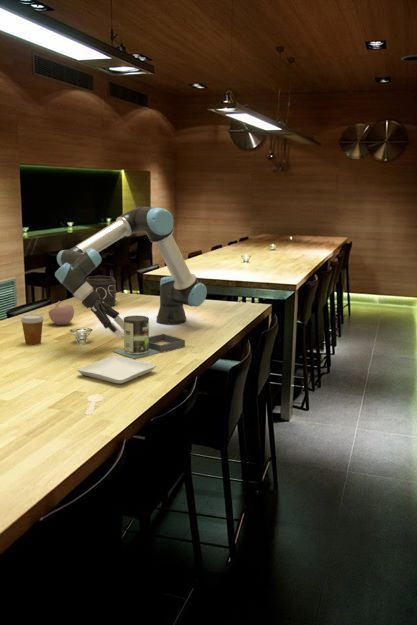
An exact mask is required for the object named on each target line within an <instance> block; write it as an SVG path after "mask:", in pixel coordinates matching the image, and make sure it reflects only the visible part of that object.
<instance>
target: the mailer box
mask: <svg viewBox="0 0 417 625" xmlns="http://www.w3.org/2000/svg"><path fill="white" fill-rule="evenodd" d="M159 342H165V343H164V344H159ZM166 342H167V343H166ZM169 342H170V343H169ZM183 346H185V347H186V340H185V339H183V338H179V337H175V336H172V335H169V334H165V333H161V334H157V335H153V336H149V352H147V353H144V354H128V353H125V352H124V348H118V349H116V350H112V353H113V354H114V353H115V354H117V355H121V356H122V357H125V358H129V359H133V360H137V359H139V358H144V357H148V356H152V355H157V354H160V352H161V353H165V352H168V350H169V351H172V349H173V350H176V348H178V349H180V348H179V347H182V348H184V347H183ZM164 351H165V352H164Z"/></svg>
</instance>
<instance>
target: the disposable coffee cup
mask: <svg viewBox="0 0 417 625" xmlns="http://www.w3.org/2000/svg"><path fill="white" fill-rule="evenodd" d="M44 319H45V318H44V316H43V315H42V314H37V313H33V314H31V313H29V314H24V315H22V316H21V318H20V321H21V325H22V331H23V336H24V340H25V345H26V346H38V345H40V344H41V343H42V336H43V335H42V332H43V322H44Z"/></svg>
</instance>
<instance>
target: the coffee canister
mask: <svg viewBox="0 0 417 625" xmlns="http://www.w3.org/2000/svg"><path fill="white" fill-rule="evenodd" d="M84 280H86V282H87V283H88V284H89V285H91V286H92V287H93V289H92V290H95V291H96V292H97V293H98V294H99V295H100V297H99V298H98V300H100V299H102V300H103V301H104V302H105V303H106V304H107V305H109V306H110V307H111V308H113V307H114V306H115V303H116V302H117V300H116V297H117V293H118V290H117V289H116V288H117V286H116V283H117V280H116V279H115V277H113V276H108V275H95V276H93V275H92V276H86V277H85V278H84ZM89 308H90V309H91V308H92V306H90V307H89Z"/></svg>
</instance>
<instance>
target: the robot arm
mask: <svg viewBox="0 0 417 625" xmlns="http://www.w3.org/2000/svg"><path fill="white" fill-rule="evenodd" d="M174 223H175V221H174V218H173V214H172V213H170V211H169V210H167V209H166V208H163V207H162V208H161V207H159V206H158V207H150V206H137V207H135V208H132V209H131V210H128V211H127V212H125V213H123V214H121V215H120V216H118V217H117V218H116V219H115V221H114V222H113V223H111V224H109V225H108V226H106V227H104V228H103V229H101V230H99V231H98V232H96V233H94V234H93V235H91V236H89V237H88V238H87V239H85V240H83V241H81V242H79V243H78V244H76V245H75V246H73V247H71V248H70V249H64V250H63V249H62V250H60V251H59V252H58V254H56V261H57V264H58V265H59V266H60V267H59V268H58V269H57V270H56V271H55V272H54V277H55V278H56V279H57V280H58V281H59V283H60V284H62V285H63V287H65V288H66V289H67V290H68V291H69V292H70V293H71V294H72V295H73V297H74V299H77V300H78V301H79V302H80V301H81V304H82V305H83V306H84V307H85V308H86V309H89V308H90V311H91V312H92V313H93V314H94V315H95V316H96V318H97V319H98V321H99V322H100V323H101V325H102V326H103V327H104V329H109V330H110V331H111V333H113V335H115V336H116V337H117V339H119V340H120V339H121V338H122V337H124V318H122V317H121V316H120V312H119V311H117V310H116V309H114V308H113V307H110V306H109V305H107V304H106V303H105V302H104V301H103V300H102V299H100V300H98V298H99V297H100V295H99V294H98V293H97V292H96V291H95V290H92V289H93V287H92V286H91V285H89V284H88V283H87V282H86V280H85V279H86V278H87V277H88V275H89V274H90V273H92V271H94V270H95V269H97V268H98V266H99V265H100V264H101V262H102V256H101V255H100V252H101V251H103V250H104V249H107V248H108V247H109V246H111V245H113V244H114V243H115V242H117V241H119V240H120V239H122V238H124V237H129V236H131V235H133V234H136V233H145V234H146V236H147V237H148V239H149V241H150V242H151V243H155V246H156V247H157V250H158V252H159V253H160V255H161V257H162V259H163V261H164V263H165V265H166V267H167V270H168V271H169V273H170V275H171V276H164V277H161V278H160V282H159V283H160V284H159V308H158V313H157V316H156V323H158V324H161V325H169V326H170V325H173V326H174V325H181V324H185V323H186V322H187V315H186V312H185V309H184V306H188V307H195V308H196V307H200V306H201V305H202V304H204V302H205V300H206V299H207V298H206V297H207V295H208V294H207V293H208V292H207V286H206V285H205V284H204V283H202V282H199V281H198V279H197V277H196V274H194V273H191V271H190V269H189V267H188V265H187V262H186V261H185V259H184V256H183V255H182V253H181V250H180V247H178V245H177V243H176V240H175V238H174V237H173V233H174V229H173V228H174ZM90 306H92V308H91V307H90ZM109 317H110V318H111V319H113V321H114V322H115V323H116V324H117V325H118V326H119V327H120V328H121V329H122V330H121V329H120V328H119V327H118V326H116V324H115V323H114V322H112V321H111V320H110V318H109Z"/></svg>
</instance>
